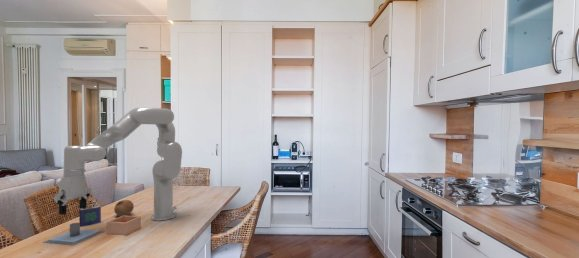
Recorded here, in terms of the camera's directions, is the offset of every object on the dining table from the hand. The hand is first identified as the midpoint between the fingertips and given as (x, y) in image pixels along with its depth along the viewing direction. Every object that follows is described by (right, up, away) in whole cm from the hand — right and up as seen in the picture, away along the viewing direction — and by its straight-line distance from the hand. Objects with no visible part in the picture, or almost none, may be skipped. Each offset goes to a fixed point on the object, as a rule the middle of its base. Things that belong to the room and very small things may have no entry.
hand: (73, 211), depth 127 cm
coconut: (+3, -12, +34) cm, 36 cm away
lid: (0, -12, +1) cm, 12 cm away
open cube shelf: (+18, -12, +8) cm, 23 cm away
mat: (0, -12, +1) cm, 12 cm away
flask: (-5, -12, +18) cm, 22 cm away
